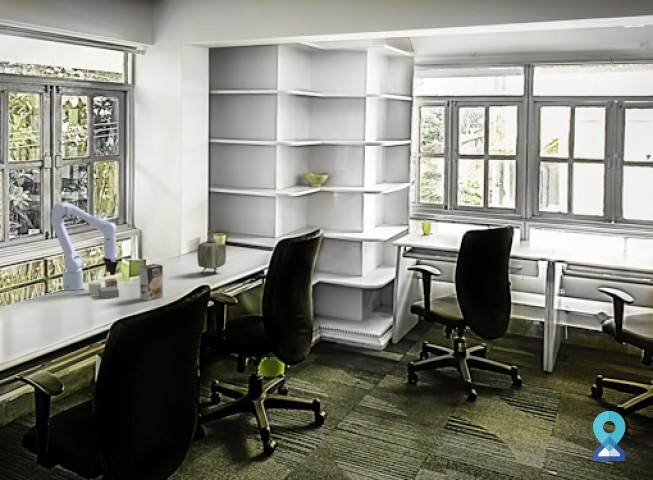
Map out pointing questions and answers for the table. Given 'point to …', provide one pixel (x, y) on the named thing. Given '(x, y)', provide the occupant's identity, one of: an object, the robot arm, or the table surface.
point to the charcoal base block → (108, 292)
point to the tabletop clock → (211, 253)
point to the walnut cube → (110, 283)
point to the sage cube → (94, 288)
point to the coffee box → (151, 282)
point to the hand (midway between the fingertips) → (110, 273)
